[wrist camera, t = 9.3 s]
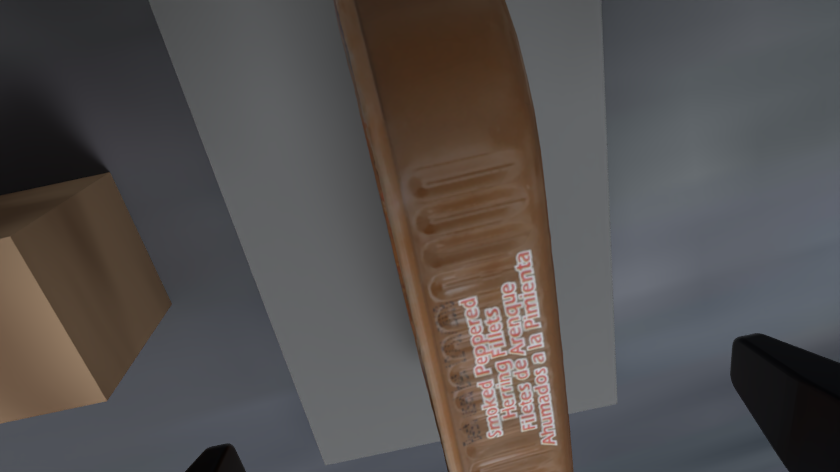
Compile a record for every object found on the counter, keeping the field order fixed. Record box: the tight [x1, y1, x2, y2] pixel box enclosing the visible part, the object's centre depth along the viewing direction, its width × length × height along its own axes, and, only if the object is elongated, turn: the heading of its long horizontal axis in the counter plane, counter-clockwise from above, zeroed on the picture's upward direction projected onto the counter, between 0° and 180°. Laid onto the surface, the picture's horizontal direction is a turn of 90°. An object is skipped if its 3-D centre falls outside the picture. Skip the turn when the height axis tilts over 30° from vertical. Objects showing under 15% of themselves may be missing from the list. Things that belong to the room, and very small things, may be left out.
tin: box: [333, 0, 573, 472], centre depth 13 cm, size 15×3×8 cm, turn 11°
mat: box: [148, 0, 617, 465], centre depth 17 cm, size 12×19×1 cm, turn 11°
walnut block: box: [0, 172, 172, 423], centre depth 15 cm, size 5×5×5 cm
